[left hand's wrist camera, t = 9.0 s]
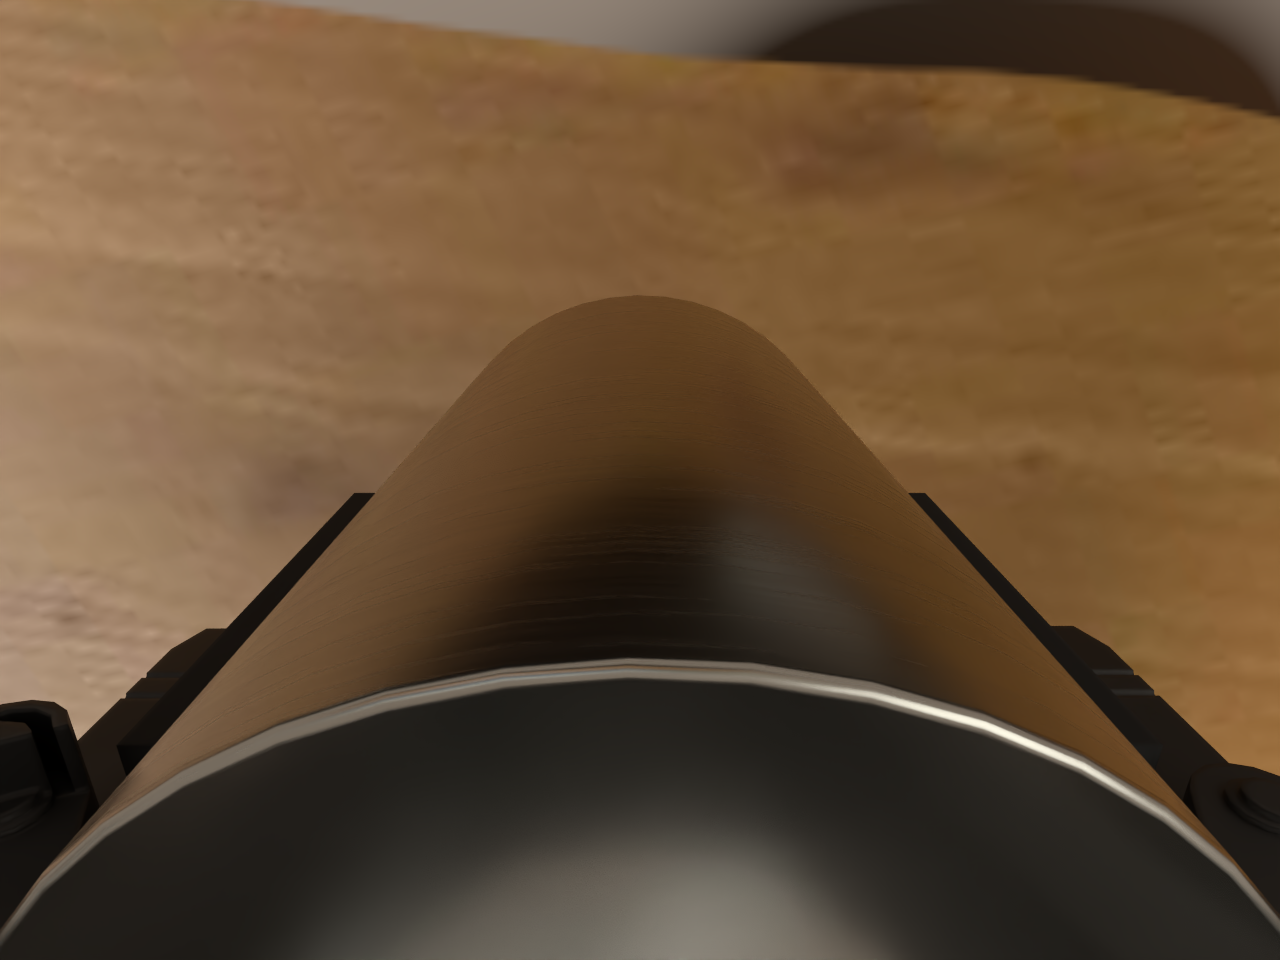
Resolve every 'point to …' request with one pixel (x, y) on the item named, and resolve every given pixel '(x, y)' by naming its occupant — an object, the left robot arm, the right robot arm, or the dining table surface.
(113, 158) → the dining table surface
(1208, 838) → the tin
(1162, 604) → the dining table surface
